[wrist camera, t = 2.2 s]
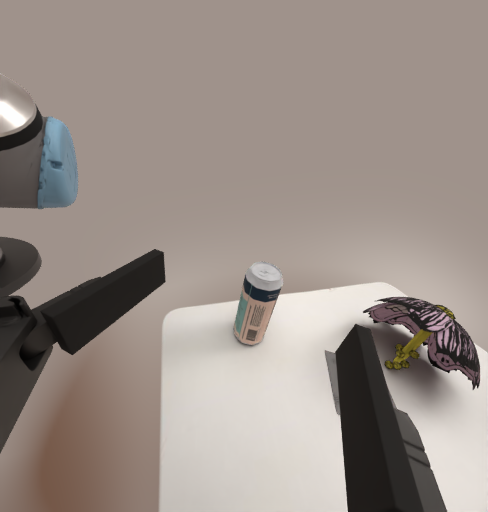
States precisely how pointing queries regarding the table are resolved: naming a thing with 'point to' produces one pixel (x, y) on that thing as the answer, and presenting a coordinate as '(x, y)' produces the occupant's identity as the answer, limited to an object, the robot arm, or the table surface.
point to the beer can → (257, 302)
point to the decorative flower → (429, 335)
